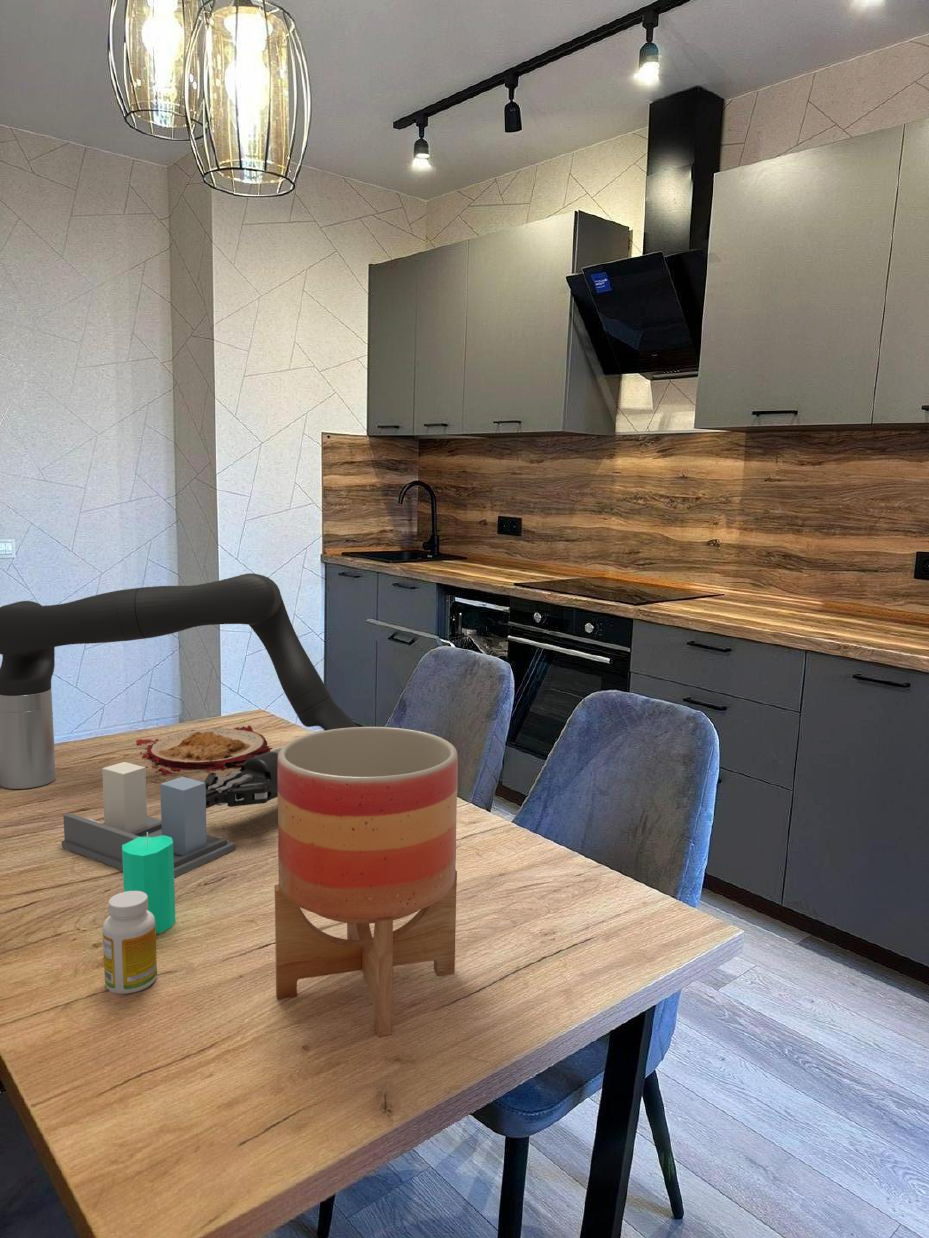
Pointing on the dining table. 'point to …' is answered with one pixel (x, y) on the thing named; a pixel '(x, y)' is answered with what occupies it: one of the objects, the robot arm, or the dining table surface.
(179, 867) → the tray
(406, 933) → the planter
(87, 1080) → the dining table surface
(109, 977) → the supplement bottle
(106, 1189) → the dining table surface
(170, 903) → the candle
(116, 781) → the ivory key
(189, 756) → the plate with food
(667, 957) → the dining table surface
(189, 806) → the slate blue key
